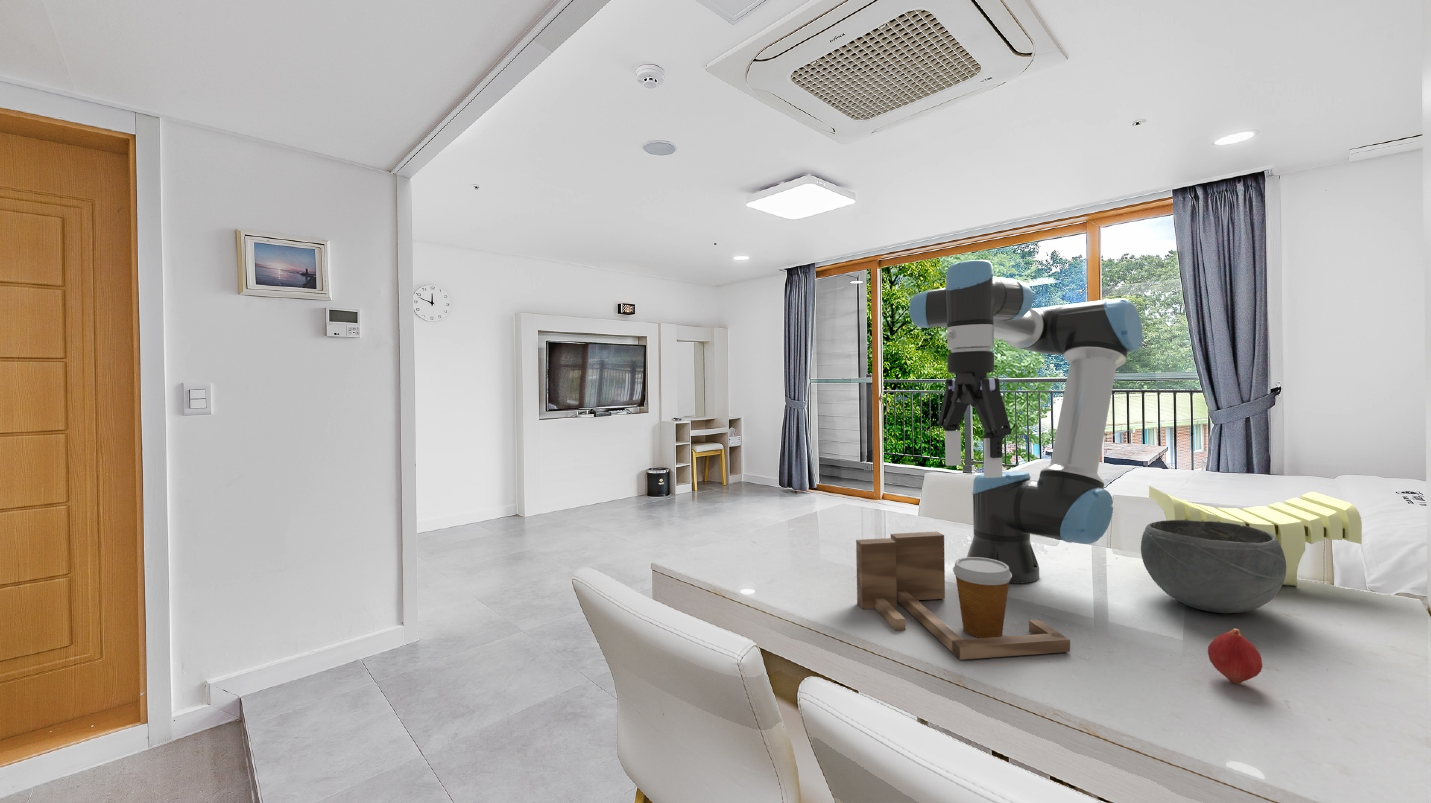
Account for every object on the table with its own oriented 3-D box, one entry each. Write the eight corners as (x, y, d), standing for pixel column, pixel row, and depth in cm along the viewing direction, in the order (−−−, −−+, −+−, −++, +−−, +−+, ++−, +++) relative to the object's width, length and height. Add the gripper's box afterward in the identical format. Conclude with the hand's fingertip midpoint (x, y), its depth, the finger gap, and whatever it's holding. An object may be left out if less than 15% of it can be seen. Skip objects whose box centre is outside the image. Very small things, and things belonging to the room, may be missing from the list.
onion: (1197, 673, 85) (1197, 620, 84) (1232, 670, 85) (1232, 618, 85) (1236, 694, 79) (1236, 638, 79) (1273, 691, 79) (1274, 635, 79)
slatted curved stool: (1174, 580, 123) (1174, 498, 122) (1149, 558, 138) (1149, 485, 137) (1360, 595, 112) (1361, 506, 111) (1311, 570, 127) (1312, 491, 126)
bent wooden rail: (891, 595, 117) (890, 533, 117) (977, 590, 119) (977, 529, 118) (959, 659, 90) (958, 578, 90) (1070, 651, 92) (1069, 572, 91)
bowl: (1283, 602, 109) (1283, 526, 109) (1289, 641, 94) (1290, 551, 94) (1147, 579, 124) (1147, 511, 123) (1133, 609, 108) (1133, 531, 108)
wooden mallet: (857, 603, 115) (856, 539, 114) (890, 601, 115) (889, 538, 115) (881, 631, 102) (880, 559, 101) (919, 628, 102) (918, 557, 102)
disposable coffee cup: (1020, 645, 95) (1019, 574, 95) (959, 641, 97) (959, 572, 97) (1003, 621, 104) (1002, 557, 104) (948, 618, 106) (947, 555, 106)
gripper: (919, 355, 112) (921, 461, 113) (988, 346, 87) (990, 484, 88) (956, 353, 112) (957, 460, 113) (1035, 345, 87) (1036, 482, 88)
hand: (971, 471), depth 100 cm, fingers open, 13 cm apart
